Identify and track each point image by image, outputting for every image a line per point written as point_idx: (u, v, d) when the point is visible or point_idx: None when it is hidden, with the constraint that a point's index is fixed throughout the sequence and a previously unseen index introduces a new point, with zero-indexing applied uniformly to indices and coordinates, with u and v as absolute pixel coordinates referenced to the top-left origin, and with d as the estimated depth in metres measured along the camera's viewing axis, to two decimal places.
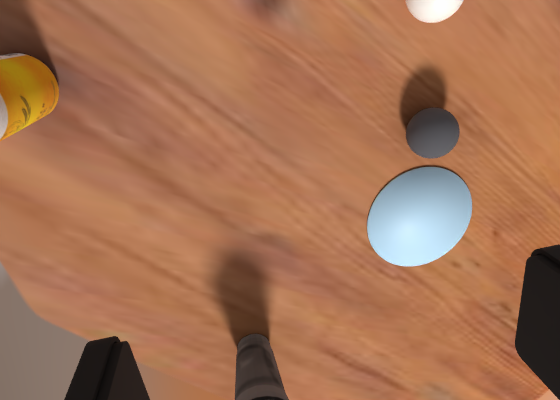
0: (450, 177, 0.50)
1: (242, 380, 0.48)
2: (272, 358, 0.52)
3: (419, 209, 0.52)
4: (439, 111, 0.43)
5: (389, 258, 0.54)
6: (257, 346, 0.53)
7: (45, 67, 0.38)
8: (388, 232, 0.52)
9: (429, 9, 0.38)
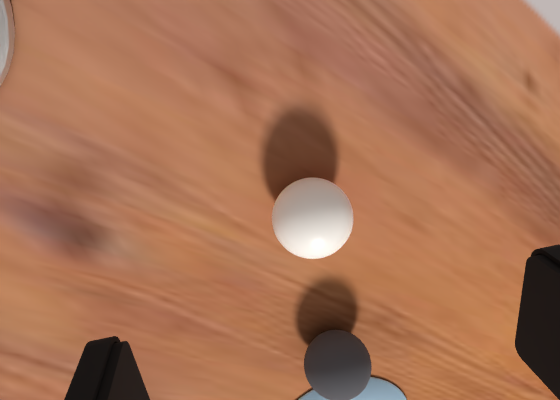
0: (376, 384, 0.39)
1: None
2: None
3: None
4: (340, 349, 0.32)
5: None
6: None
7: None
8: None
9: (300, 254, 0.27)
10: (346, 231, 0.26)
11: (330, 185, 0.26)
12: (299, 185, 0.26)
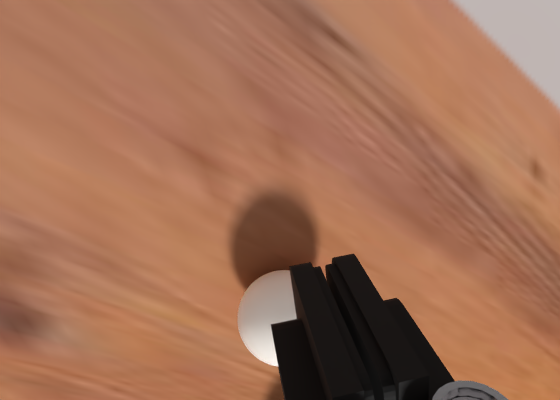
0: None
1: None
2: None
3: None
4: None
5: None
6: None
7: None
8: None
9: (267, 363, 0.23)
10: None
11: None
12: (269, 284, 0.23)
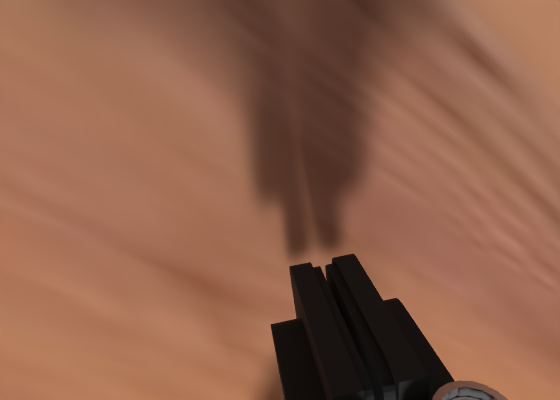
0: None
1: None
2: None
3: None
4: None
5: None
6: None
7: None
8: None
9: None
10: None
11: None
12: None
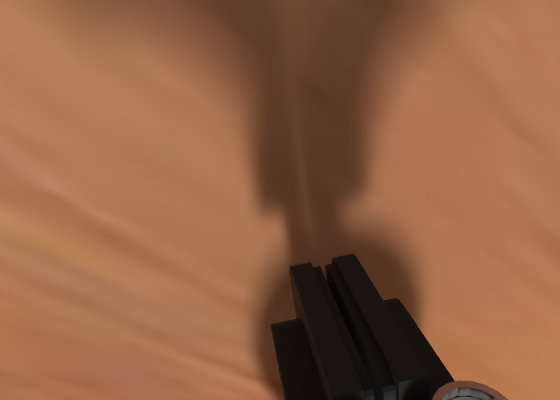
0: None
1: None
2: None
3: None
4: None
5: None
6: None
7: None
8: None
9: None
10: None
11: None
12: None
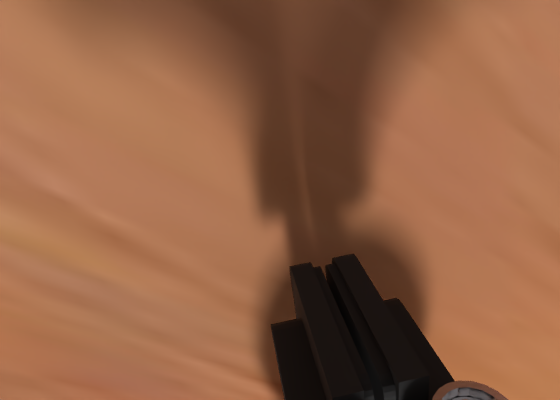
0: None
1: None
2: None
3: None
4: None
5: None
6: None
7: None
8: None
9: None
10: None
11: None
12: None
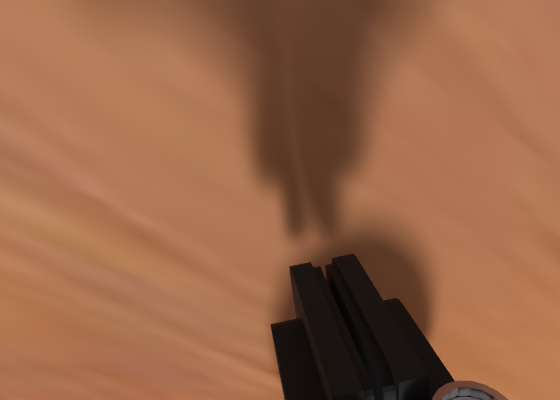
0: None
1: None
2: None
3: None
4: None
5: None
6: None
7: None
8: None
9: None
10: None
11: None
12: None
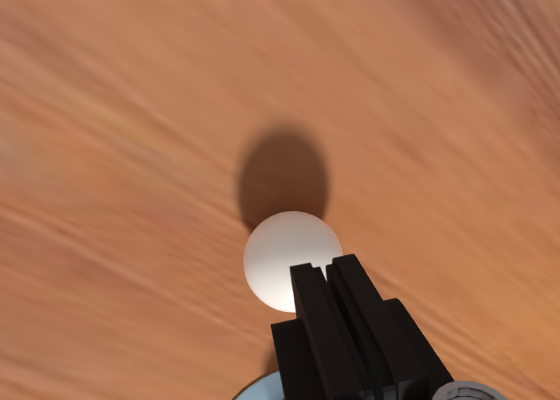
0: None
1: None
2: None
3: None
4: None
5: None
6: None
7: None
8: None
9: None
10: None
11: None
12: None
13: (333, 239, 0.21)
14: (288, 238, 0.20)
